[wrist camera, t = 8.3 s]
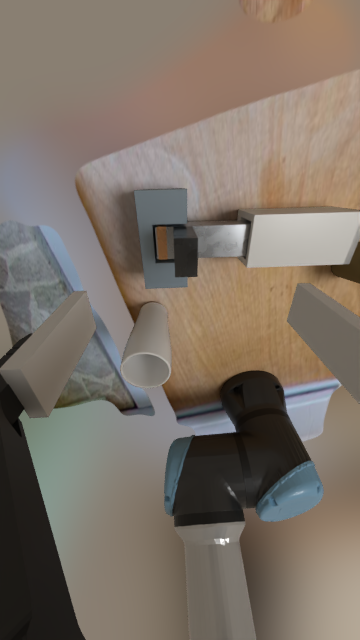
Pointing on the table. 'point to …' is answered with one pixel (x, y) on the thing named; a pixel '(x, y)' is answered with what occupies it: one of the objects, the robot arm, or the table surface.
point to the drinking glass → (148, 349)
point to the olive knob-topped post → (349, 267)
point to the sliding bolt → (201, 242)
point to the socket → (152, 212)
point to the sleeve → (300, 236)
